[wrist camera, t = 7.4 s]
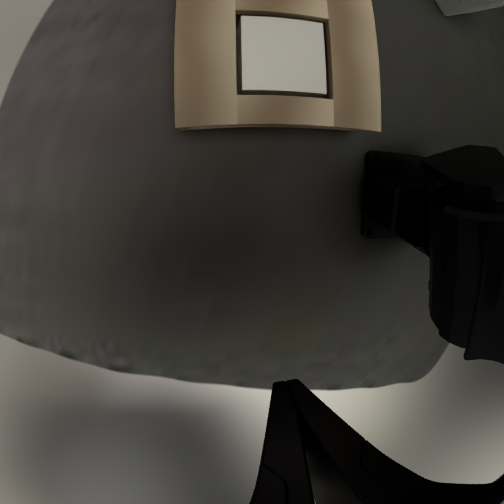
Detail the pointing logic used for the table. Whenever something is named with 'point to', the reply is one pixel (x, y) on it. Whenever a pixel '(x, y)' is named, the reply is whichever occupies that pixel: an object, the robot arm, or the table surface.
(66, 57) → the table surface
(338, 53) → the wooden slotted tray
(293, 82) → the offwhite key
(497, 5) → the skincare box
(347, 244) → the table surface
